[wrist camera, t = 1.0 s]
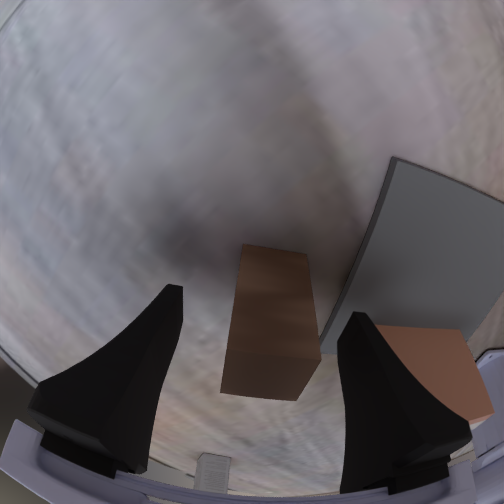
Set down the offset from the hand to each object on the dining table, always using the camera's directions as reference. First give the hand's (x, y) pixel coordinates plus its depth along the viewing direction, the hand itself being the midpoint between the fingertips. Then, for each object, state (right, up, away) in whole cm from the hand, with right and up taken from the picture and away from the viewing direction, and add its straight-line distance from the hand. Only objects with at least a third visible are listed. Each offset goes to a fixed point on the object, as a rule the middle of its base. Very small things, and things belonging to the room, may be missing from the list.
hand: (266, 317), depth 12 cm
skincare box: (-6, -28, +23) cm, 37 cm away
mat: (+10, +1, +2) cm, 11 cm away
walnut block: (0, +2, +3) cm, 3 cm away
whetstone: (+10, -3, +4) cm, 11 cm away
